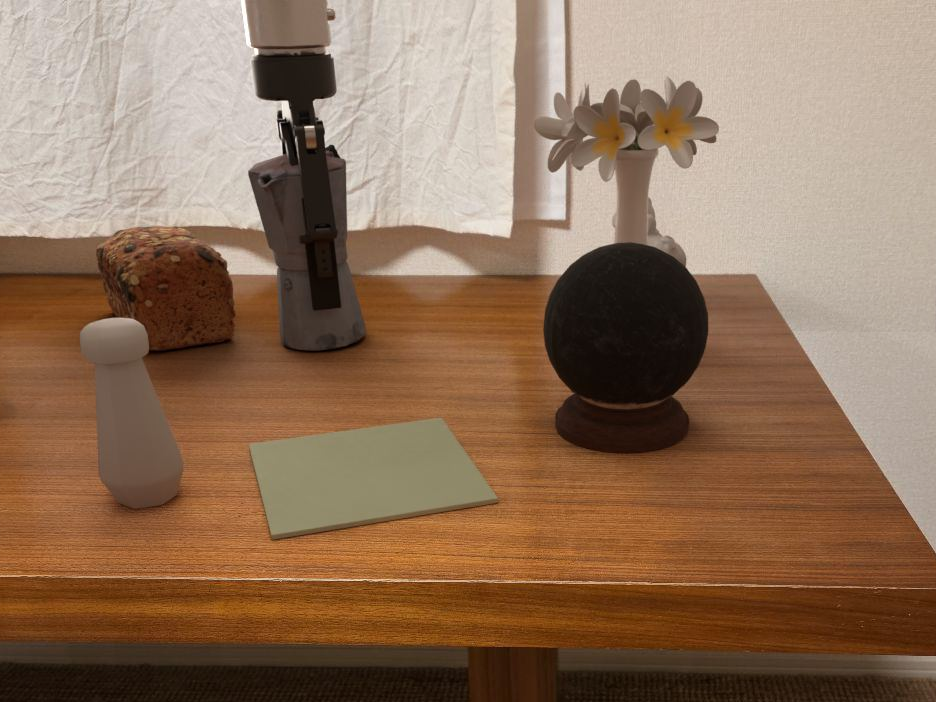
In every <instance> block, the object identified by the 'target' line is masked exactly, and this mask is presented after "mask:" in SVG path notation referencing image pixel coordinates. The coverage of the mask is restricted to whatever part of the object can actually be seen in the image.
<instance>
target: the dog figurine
mask: <svg viewBox="0 0 936 702" xmlns="http://www.w3.org/2000/svg"><path fill="white" fill-rule="evenodd" d="M615 224H616V212H614V214H613V215H612V218H611V225H612V227H613V228H614V229H615ZM647 243H648V246H653V247H656V248H658V249H660V250H662V251H664V252H665V253H667V254H669V255H671V256H673V257H675V258H676V259H677V260H678V261H679V262H680V263H682V264H683V265H684V266H685V267H686V268H687V255H686V252H685V251H684V248H682V246H681V245H680V244H679V243H678V242H676V239H674V238H673V237H672V236H671V235H662V233H660V230H658V229H657V220H656V212H655V209H654V206H653V201H652V199H651V198H650V197H649V196H648V213H647Z"/></svg>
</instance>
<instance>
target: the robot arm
mask: <svg viewBox="0 0 936 702" xmlns="http://www.w3.org/2000/svg"><path fill="white" fill-rule="evenodd" d="M240 2H241V8H242V16H243V24H244V25H243V26H244V33H245V40H246V45H247V46H248V47H249V48H251V49H254V53H253V54H252V55H251V58H249V65H250V71H251V72H250V73H251V79H252V86H253V92H254V96H255V97H256V98H258V99H259V100H263V101H270V102H281V109H277V111H276V119H275V125H276V126H275V127H276V130H277V135H278V138H279V142H280V143H279V144H280V154H281V155H284V154H287V158H288V161H289V164H290V165H291V166H295V165H299V170H300V177H301V184H302V191H303V198H304V199H303V198H301V199H302V208H303V218H304V225H305V231H306V234H305V235H303V236H300V237H299V242H300V244H305V249H306V257H307V266H308V274H309V282H310V291H311V299H312V307H313V310H314V311H315V310H325V309H335V308H341V299H340V289H339V280H338V271H337V261H336V252H335V242H334V239H335V238H337V234H338V231H337V229H336V225H335V217H334V210H333V203H332V195H331V188H330V180H329V173H328V166H327V158H326V151H325V148H326V141H325V134H326V130H325V129H326V128H325V126H324V121H323V120H322V119H319V117H318V116H316V109H315V106H314V101H315V100H326V99H330V98H333V97H334V96H336V94H337V78H336V77H337V76H336V70H335V69H336V67H335V58H334V56H332V53H330V52H326V47H330V46H331V44H332V34H331V25H330V23H329V22H330V21H335V19H336V18H337V17H336V11H335V10H334V9H333V8H327V7H328V4H329V3H328V0H240ZM295 157H296V158H298V159H296V158H295ZM318 224H325V226H315V225H318Z"/></svg>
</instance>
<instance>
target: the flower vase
mask: <svg viewBox="0 0 936 702" xmlns="http://www.w3.org/2000/svg"><path fill="white" fill-rule="evenodd" d="M663 85H664V86H663V87H664V95H665V98H663V96H661V95H660V93H658V92H657V91H655V90H652V89H650V88H644V89H641V84H640V82H639V81H638V80H637V79H636V78H634V79H630V80H628V81H627V82H626V83H625V85H624V87H623V88H622V91H621V94H619V91H618V90H617V89H616V88H613V87H612V88H610V89H608V91H607V92H606V94H605V96H604V98H603V100H602V102H595V103H592V104H591V99H590V84H589V83H587V82H584V83H583V85H582V87H581V89H580V93H579V97H578V100H577V101H578V102H577V106H575V108H574V109H573V112H572V110H571V108H570V106H569V104H568V102H567V100H566V99H565V96H564V95H563V94H562V93H561V92H555V94H554V96H553V110H554V112H555V115H556V116H557V118H555V117H550V116H539V117H536V118H535V119H534V120H533V128H534V130H535V131H536V133H538V134H539V135H540V136H541V137H543V138H545V139H547V140H549V141H557V142H556V143H555V142H554V144H553V146H552V147H551V149H550V151H549V153H548V157H547V169H548V171H549V172H550V173H556V172H558V171H559V170H560V169H561V167H562V166H563V165H564V164H565V163H566V161H567V159H568V157H569V156H570V164H571V166H572V167H573V168H575V169H576V170H577V171H579V172H581V171H583V169H584V168H585V166H587V165H589V164H591V163H592V162H594V161H596V160H597V159H598V158H599V159H598V172H599V176H600V178H601V180H602V181H603V182H605V183H607V182H610V181H611V180H612V179H613V176H614V174H615V183H616V210H615V213H616V224H615V228H614V239H613V244H615V243H626V242H632V243H638V244H644V245H648V243H647V213H648V197H649V190H650V184H651V179H652V173H653V168H654V164H655V162H656V159H657V157H658V155H659V149H660V148H662V147H664V146H665V147H666V148H667V150H668V151H669V154H670V156H671V158H672V159H673V161H674V163H676V165H677V166H678V167H680V168H681V169H689V168H690V167H691V166H692V164H693V162H694V156H696V155H697V152H698V147H697V144H696V142H695V141H700V142H704V143H707V144H715V143H717V135H718V133H719V132H720V125H719V124H718V123H717V121H715V120H714V119H712V118H709V117H707V116H702V115H700V116H699V115H698V114H699V112H700V110H701V108H702V105H703V93H702V91H701V89H700V88H698V87H696V84H695V83H694V82H693V81H691V80H686V81H684V82H683V83H682V82H681V84H680V85H679V86H678V87H677V86H676V85H675V82H673V80H672V78H670V77H669V76H666V77H665V78H664V84H663ZM588 136H589V137H592V138H587V137H588ZM585 138H587V139H585Z"/></svg>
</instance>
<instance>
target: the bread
mask: <svg viewBox="0 0 936 702" xmlns="http://www.w3.org/2000/svg"><path fill="white" fill-rule="evenodd" d="M95 251H96V252H95V253H96V261H97V263H96V264H97V268H98V271H99V273H100V276H101V280H102V281H101V284H102V288H103V290H104V292H105V293H104V294H105V296H106V299H107V303H108V305H109V307H110V309H111V311H112V313H113V315H115V318H129V319H134V320H136V321H138V322H139V323H141V324H142V325H144V327H145V330H146V332H147V335H148V342H149V351H169V350H173V349H183V348H187V347H193V346H203V345H207V344H208V345H209V344H214V343H223V342H225V341H227V340H230V339H231V338H232V337H233V336H234V333H235V328H236V323H235V317H236V316H237V315H236V310H235V308H234V307H235V300H234V285H233V279H232V278H231V276H230V275H229V274H230V271H228V261H227V260H226V259H225V258H224V257H222V254H221V253H220V252H219V251H217V250H216V249H215V248H213V247H211V246H210V245H209V244H207V243H206V242H205V241H203V240H202V239H201V238H199V237H198V236H196V235H194V234H193V233H191V232H190V231H189V230H187V229H185V228H182V227H180V226H171V225H170V226H163V225H151V226H134V227H130V228H125V229H119V230H117V231H116V232H115V233H114V234H113V235H112V236H111V237H109V238H108V239H107V240H105V241H104V242H102V243H100V244H99V245H98V246H97V248H96V250H95Z"/></svg>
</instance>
